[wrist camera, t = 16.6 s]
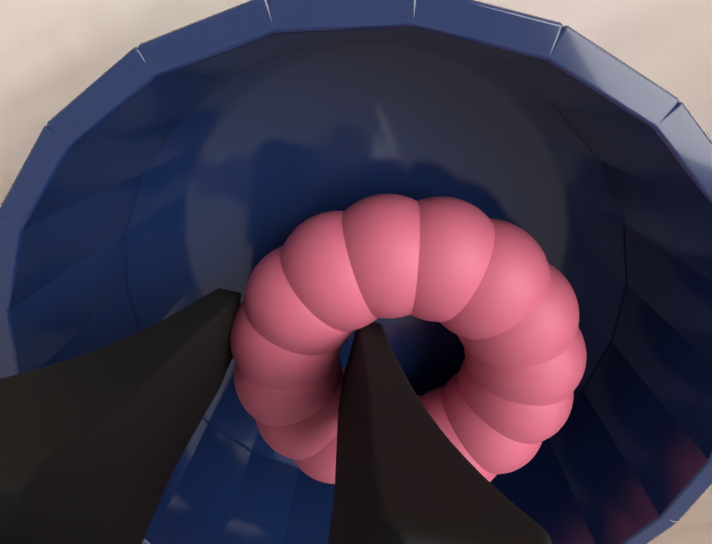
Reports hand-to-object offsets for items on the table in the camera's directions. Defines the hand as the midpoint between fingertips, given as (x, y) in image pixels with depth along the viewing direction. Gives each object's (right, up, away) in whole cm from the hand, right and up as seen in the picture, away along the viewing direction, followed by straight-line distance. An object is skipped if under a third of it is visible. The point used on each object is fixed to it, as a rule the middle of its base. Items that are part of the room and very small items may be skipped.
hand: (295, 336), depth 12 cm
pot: (+2, +1, +2) cm, 3 cm away
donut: (+3, 0, +1) cm, 3 cm away
